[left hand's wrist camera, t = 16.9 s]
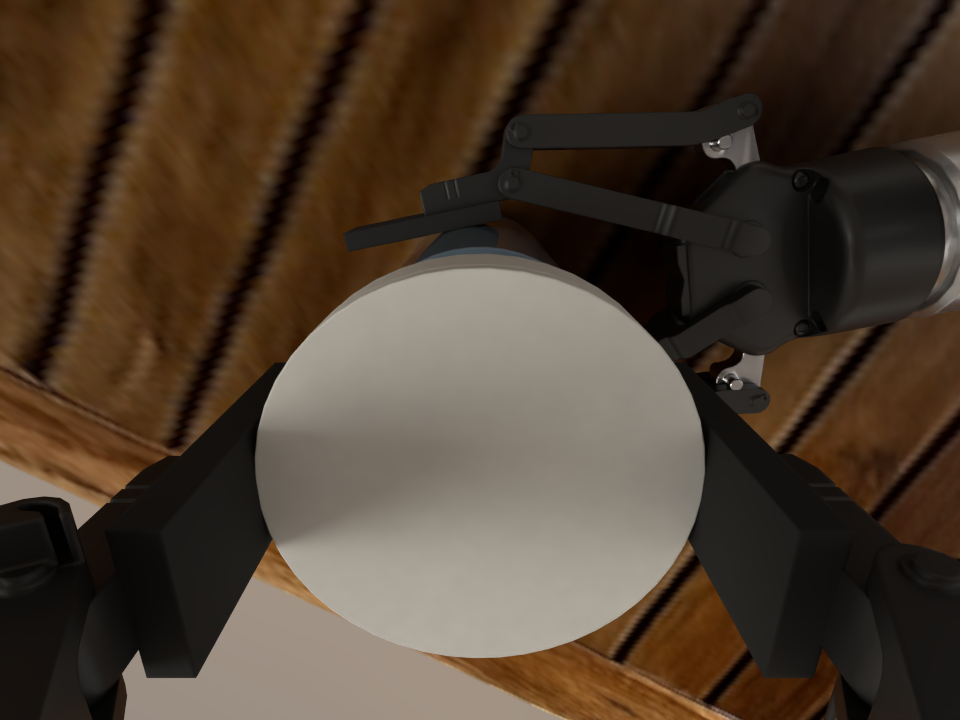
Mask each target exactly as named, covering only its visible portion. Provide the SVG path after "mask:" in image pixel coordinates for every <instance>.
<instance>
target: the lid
mask: <svg viewBox="0 0 960 720" xmlns="http://www.w3.org/2000/svg"><path fill="white" fill-rule="evenodd" d="M255 475H256V482H257V488H258V494H259V500H260V506H261V510H262V513H263V516H264V519H265V522H266V524H267V527H268V530H269V533H270V535H271V536H272V538H273V540H274V542H275V544H276V546H277V548H278V550H279V552H280V554H281V555H282V557H283V558H284V559H285V561H286V562H287V564H288V565H289V567H290V568H291V569H292V571H293V572H294V574H295V575H296V576H297V577H298V578H299V579H300V580H301V581H302V583H303V584H304V585H305V586H306V587H307V588H308V589H309V590H310V591H311V592H312V593H313V594H314V595H315V596H316V597H317V598H318V599H320V600H321V601H322V602H323V603H324V604H325V605H327V606H328V607H329V608H330V609H331V610H333V611H334V612H336V613H337V614H339V615H340V616H342V617H343V618H345V619H346V620H348V621H349V622H351V623H352V624H354V625H356V626H358V627H360V628H362V629H364V630H365V631H367V632H369V633H371V634H373V635H375V636H378V637H380V638H383V639H385V640H388V641H390V642H393V643H395V644H398V645H401V646H405V647H408V648H412V649H415V650H419V651H423V652H428V653H434V654H439V655H445V656H455V657H468V658H491V657H505V656H514V655H522V654H527V653H532V652H536V651H541V650H545V649H549V648H553V647H556V646H559V645H562V644H565V643H568V642H571V641H573V640H576V639H578V638H580V637H582V636H584V635H587V634H589V633H591V632H593V631H596V630H597V629H599V628H601V627H602V626H604V625H606V624H608V623H609V622H611V621H613V620H614V619H616V618H618V617H619V616H620V615H622V614H623V613H624V612H626V611H627V610H628V609H630V608H631V607H632V606H634V605H635V604H636V603H638V602H639V601H640V600H641V599H642V598H643V597H644V596H645V595H646V594H647V593H648V592H649V591H650V590H651V589H652V588H653V587H655V586H656V584H657V583H658V582H659V581H660V580H661V578H662V577H663V576H664V575H665V573H666V572H667V571H668V570H669V569H670V567H671V566H672V565H673V563H674V561H675V560H676V558H677V557H678V555H679V553H680V552H681V550H682V549H683V547H684V545H685V543H686V541H687V539H688V537H689V534H690V532H691V530H692V528H693V525H694V523H695V520H696V517H697V513H698V510H699V506H700V502H701V497H702V491H703V484H704V478H705V444H704V439H703V433H702V427H701V422H700V418H699V415H698V412H697V409H696V406H695V403H694V400H693V397H692V394H691V392H690V391H689V389H688V387H687V385H686V383H685V381H684V379H683V377H682V375H681V373H680V372H679V370H678V368H677V367H676V366H675V364H674V363H673V361H672V360H671V359H670V357H669V356H668V355H667V353H666V352H665V351H664V349H663V348H662V347H661V345H660V344H659V343H658V342H657V341H656V340H655V339H654V338H653V337H652V336H651V335H650V334H649V333H648V332H647V331H646V330H645V329H644V328H643V327H642V326H641V325H640V324H639V323H638V322H637V321H636V320H635V319H634V318H633V317H632V316H631V315H630V314H629V313H628V312H627V311H626V310H625V309H624V308H623V307H622V306H621V305H620V304H619V303H618V302H616V301H615V300H614V299H612V298H611V297H610V296H608V295H607V294H606V293H604V292H603V291H602V290H600V289H599V288H598V287H596V286H594V285H592V284H590V283H588V282H587V281H585V280H583V279H581V278H579V277H578V276H576V275H574V274H572V273H569V272H567V271H564V270H561V269H559V268H556V267H554V266H551V265H549V264H546V263H542V262H537V261H533V260H529V259H525V258H521V257H515V256H505V255H496V254H463V255H453V256H447V257H441V258H435V259H429V260H426V261H422V262H419V263H416V264H413V265H409V266H406V267H403V268H400V269H398V270H396V271H394V272H391V273H389V274H387V275H385V276H383V277H381V278H378V279H376V280H374V281H373V282H371V283H370V284H368V285H367V286H365V287H363V288H362V289H360V290H359V291H357V292H356V293H354V294H353V295H351V296H350V297H349V298H348V299H347V300H345V301H344V302H343V303H342V304H341V305H340V306H338V307H337V308H336V309H335V310H334V311H333V312H331V313H330V314H329V315H328V316H327V317H326V318H325V320H324V321H323V322H322V323H321V324H320V325H319V326H318V327H317V328H316V329H315V330H314V331H313V332H312V333H311V334H310V335H309V336H308V337H307V338H306V339H305V341H304V342H303V343H302V344H301V345H300V346H299V347H298V349H297V350H296V351H295V352H294V353H293V354H292V355H291V357H290V358H289V360H288V361H287V363H286V365H285V366H284V368H283V369H282V371H281V372H280V374H279V375H278V377H277V379H276V380H275V382H274V385H273V387H272V389H271V391H270V394H269V396H268V398H267V401H266V403H265V405H264V409H263V412H262V416H261V420H260V424H259V427H258V431H257V440H256V449H255Z"/></svg>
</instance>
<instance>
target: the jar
mask: <svg viewBox="0 0 960 720" xmlns="http://www.w3.org/2000/svg"><path fill="white" fill-rule="evenodd" d="M502 219H503V220H499V221H495V222H490V223H485V224H480V225H475V226H470V227H466V228H460V229H456V230H451V231H446V232H442V233H437V234H432V235H428V236H427V237H426V238H425V239H424V240H423V241H422V242H421V244H420V245H419V246H418V247H417V248H416V250H415V251H414V252H413V253H412V255H411V256H410V257H409V258H408V259H407V261H406V262H405V263H404V264H403V266H402V267H401V268H403V267H406V266H409V265H413V264H416V263H419V262H422V261H426V260H429V259H435V258H441V257H447V256H453V255H463V254H496V255H505V256H515V257H521V258H525V259H529V260H533V261H537V262H542V263H546V264H549V265H551V266H554V267H556V268H559V266H558V265H557V264H556V263H555V261H554V260H553V259H552V258H551V257H550V255H549V254H548V253H547V252H546V251H545V249H544V248H543V247H542V246H541V244H540V243H539V242H538V241H537V240H536V238H535V237H534V236H533V235H532V234H531V233H530V232H529V231H528V230H526V229H525V228H524V227H522V226H521V225H520V224H518V223H516V222H514V221H513V220H511V219H508V218H506V217H503V216H502ZM559 269H560V268H559Z"/></svg>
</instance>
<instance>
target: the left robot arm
mask: <svg viewBox="0 0 960 720" xmlns="http://www.w3.org/2000/svg"><path fill="white" fill-rule="evenodd" d="M674 364H675V366H676V367H677V368H678V370H679V372H680V373H681V375H682V377H683V379H684V381H685V383H686V385H687V387H688V389H689V391H690V392H691V394H692V397H693V400H694V403H695V406H696V409H697V412H698V415H699V418H700V422H701V427H702V433H703V439H704V444H705V478H704V484H703V491H702V497H701V502H700V506H699V510H698V513H697V517H696V520H695V523H694V525H693V528H692V530H691V532H690V534H689V537H688V540H689V542H690V544H691V546H692V547H693V549H694V551H695V553H696V555H697V556H698V558H699V560H700V562H701V564H702V566H703V567H704V569H705V571H706V573H707V575H708V576H709V578H710V580H711V582H712V584H713V586H714V587H715V589H716V591H717V593H718V595H719V596H720V598H721V600H722V602H723V604H724V606H725V607H726V609H727V611H728V613H729V615H730V616H731V618H732V620H733V622H734V624H735V626H736V627H737V629H738V631H739V633H740V635H741V636H742V638H743V640H744V642H745V644H746V646H747V647H748V649H749V651H750V653H751V655H752V656H753V658H754V660H755V662H756V664H757V666H758V667H759V669H760V671H761V673H762V675H763V676H764V678H814V675H815V671H816V668H817V664H818V661H819V657H820V654H821V650H822V648H823V649H824V651H825V652H826V653H827V655H828V656H829V658H830V659H831V661H832V662H833V663H834V665H835V666H836V668H837V669H838V670H839V673H838V676H837V679H836V682H835V685H834V689H833V692H832V695H831V698H830V702H829V705H828V708H827V711H826V715H825V718H824V720H960V561H958V560H956V559H954V558H952V557H950V556H948V555H946V554H943V553H940V552H937V551H934V550H931V549H928V548H925V547H922V546H916V545H909V544H902V543H900V542H899V541H898V540H897V539H895V538H894V537H893V536H892V535H891V534H890V533H889V532H888V531H887V530H886V529H884V528H883V527H882V526H881V525H880V524H879V523H878V522H877V521H876V520H875V519H873V518H872V517H871V516H870V515H869V514H868V513H867V512H866V511H865V510H864V509H862V508H861V507H860V506H859V505H858V504H857V503H856V502H855V501H851V500H850V497H849V496H848V495H847V494H846V493H845V492H844V491H843V490H841V489H840V488H839V487H836V486H835V485H836V484H835V483H834V482H833V481H832V480H830V479H829V478H828V477H827V476H826V475H825V474H824V473H823V472H822V471H821V470H819V469H818V468H817V467H815V466H813V465H811V464H809V463H808V462H806V461H804V460H802V459H800V458H798V457H797V456H795V455H793V454H777V453H776V452H775V451H774V450H773V449H772V448H771V447H770V446H769V445H768V444H767V443H766V442H765V441H764V440H763V439H762V438H761V437H760V436H759V435H758V434H757V433H756V432H755V431H754V430H753V429H752V428H751V427H750V426H749V425H748V424H747V423H746V422H745V421H744V420H743V419H742V418H741V417H740V416H739V415H738V414H737V413H736V412H735V411H734V410H733V409H732V408H731V407H730V406H729V405H728V404H726V403H725V402H724V401H723V400H722V399H721V398H720V397H719V396H718V395H717V394H716V393H715V392H714V391H713V390H712V389H711V388H710V387H709V386H708V385H707V384H706V383H705V382H704V381H703V380H702V379H701V378H700V377H699V376H698V375H697V374H696V373H695V372H694V371H693V370H692V369H691V368H690V367H689V366H688V365H687V364H686V363H674ZM285 365H286V363H275V364H274V365H273V366H272V367H271V368H269V369H268V370H267V371H266V372H265V373H264V374H263V375H262V376H261V377H260V378H259V379H258V380H257V381H256V382H255V383H254V384H253V385H252V386H251V387H250V388H249V389H248V390H247V391H246V392H245V393H244V394H243V395H242V396H241V397H240V398H239V399H238V400H237V401H236V402H235V403H234V404H233V405H232V406H231V407H230V408H229V409H228V410H227V411H226V412H225V413H224V414H223V415H222V416H221V417H220V418H219V419H218V420H217V421H216V422H215V423H214V424H213V425H211V426H210V427H209V428H208V429H207V430H206V431H205V432H204V433H203V434H202V435H201V436H200V437H199V438H198V439H197V440H196V441H195V442H194V443H193V444H192V445H191V446H190V447H189V448H188V449H187V450H186V451H185V452H184V453H183V454H182V455H181V456H168V457H166V458H164V459H162V460H160V461H158V462H157V463H155V464H153V465H151V466H149V467H147V468H146V469H144V470H142V471H141V472H140V473H139V474H138V475H137V476H136V477H135V478H134V479H133V480H131V481H130V482H129V483H128V484H127V485H126V486H125V489H122V490H121V491H119V492H118V493H117V494H116V495H115V496H114V497H113V498H112V499H111V502H110V503H106V504H105V505H104V506H103V507H102V508H101V509H100V510H99V511H98V512H96V513H95V514H94V515H93V516H92V517H91V518H90V519H89V520H88V521H87V522H86V523H84V524H83V525H82V526H81V527H80V528H79V529H78V530H77V527H76V524H75V521H74V517H73V514H72V511H71V508H70V504H69V503H68V502H66V501H64V500H63V499H61V498H55V497H36V498H28V499H22V500H18V501H15V502H11V503H8V504H4V505H0V720H124V714H125V707H126V699H127V693H126V687H125V682H124V679H123V676H122V673H123V671H124V670H125V668H126V667H127V665H128V664H129V663H130V661H131V660H132V658H133V657H134V655H135V654H136V653H137V651H138V650H139V652H140V656H141V659H142V663H143V666H144V670H145V673H146V677H147V678H196V677H197V675H198V673H199V672H200V670H201V668H202V666H203V664H204V663H205V661H206V659H207V657H208V655H209V653H210V652H211V650H212V648H213V646H214V644H215V643H216V641H217V639H218V637H219V635H220V633H221V632H222V630H223V628H224V626H225V624H226V623H227V621H228V619H229V617H230V615H231V613H232V612H233V610H234V608H235V606H236V604H237V602H238V601H239V599H240V597H241V595H242V593H243V592H244V590H245V588H246V586H247V584H248V583H249V581H250V579H251V577H252V575H253V573H254V572H255V570H256V568H257V566H258V564H259V563H260V561H261V559H262V557H263V555H264V553H265V552H266V550H267V548H268V546H269V544H270V543H271V541H272V539H273V538H272V536H271V535H270V533H269V530H268V527H267V524H266V522H265V519H264V516H263V513H262V510H261V506H260V500H259V494H258V488H257V482H256V475H255V449H256V440H257V431H258V427H259V424H260V420H261V416H262V412H263V409H264V405H265V403H266V401H267V398H268V396H269V394H270V391H271V389H272V387H273V385H274V382H275V380H276V379H277V377H278V375H279V374H280V372H281V371H282V369H283V368H284V366H285Z"/></svg>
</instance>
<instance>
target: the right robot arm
mask: <svg viewBox="0 0 960 720" xmlns="http://www.w3.org/2000/svg"><path fill="white" fill-rule="evenodd" d="M762 111H763V104H762V102H761V99H760V98H759V97H758V96H757V95H755V94H751V93H748V94H743V95H740V96H736V97H733V98H729V99H726V100H722V101H719V102H716V103H714V104H711V105H709V106H706V107H704V108H701V109H699V110H696V111H694V112H653V113H600V114H547V115H519V116H515V117H514V118H513V119H511V120H510V122H509V123H508V125H507V126H506V128H505V130H504V135H503V143H502V150H501V156H500V160H499V162H498V164H497V165H496V166H495V168H494V169H492V170H491V171H488V172H485V173H481V174H476V175H471V176H467V177H462V178H457V179H453V180H448V181H443V182H439V183H434V184H430V185H429V186H427V187H426V188H424V189H423V190H422V191H420V197H421V201H422V206H423V210H424V213H422V214H418V215H413V216H408V217H403V218H399V219H394V220H389V221H384V222H380V223H375V224H370V225H365V226H361V227H357V228H354V229H352V230H350V231H348V232H346V233H343V236H344V239H345V243H346V246H347V250H348V252H350V251H355V250H359V249H364V248H369V247H374V246H379V245H384V244H388V243H393V242H398V241H403V240H408V239H413V238H417V237H422V236H427V235H432V234H437V233H442V232H446V231H451V230H456V229H460V228H466V227H470V226H475V225H480V224H485V223H490V222H495V221H499V220H503V219H502V214H501V208H500V203H499V201H502V200H507V199H514V200H518V201H522V202H527V203H531V204H535V205H539V206H543V207H548V208H552V209H556V210H560V211H565V212H569V213H573V214H577V215H582V216H586V217H590V218H594V219H598V220H603V221H607V222H611V223H615V224H620V225H624V226H628V227H632V228H636V229H641V230H645V231H649V232H653V233H657V234H661V235H665V236H666V239H665V240H661V242H662V253H663V258H664V261H665V264H666V266H667V269H668V272H669V275H668V281H667V286H666V297H667V307H665V308H664V309H662V310H661V311H659V312H658V313H656V314H655V315H654V316H652V317H651V319H650V321H649V322H648V324H646V325H645V326H643V328H644V329H645V330H646V331H647V332H648V333H649V334H650V335H651V336H652V337H653V338H654V339H655V340H656V341H657V342H658V343H659V344H660V345H661V347H662V348H663V349H664V351H665V352H666V353H667V355H668V356H669V357H670V359H671V360H672V361H675V360H677V359H684V358H688V357H691V356H693V355H695V354H696V353H698V352H699V351H701V350H703V349H704V348H706V347H707V346H709V345H711V344H712V343H714V342H716V341H719V342H721V343H723V344H725V345H727V346H729V347H732V348H734V352H733V354H732V356H731V357H730V358H728V359H727V360H724V361H721V362H715V363H713V364H712V365H711V366H710V372H700V373H696V374H697V375H698V376H699V377H700V378H701V379H702V380H703V381H704V382H705V383H706V384H707V385H708V386H709V387H710V388H711V389H712V390H713V391H714V392H715V393H716V394H717V395H718V396H719V397H720V398H721V399H722V400H723V401H724V402H725V403H726V404H728V405H729V406H730V407H731V408H732V409H733V410H734V411H735V412H736V413H737V414H745V413H759V412H761V411H763V410H765V409H766V408H767V406H768V405H769V402H770V396H769V394H768V392H766V391H765V390H764V389H762V388H761V387H760V383H761V377H762V370H763V363H764V356H765V354H768V353H770V352H772V351H774V350H775V349H777V348H778V347H779V346H781V345H783V344H784V343H786V342H788V341H790V340H793V339H796V338H802V337H812V336H821V335H827V334H833V333H838V332H843V331H849V330H854V329H859V328H865V327H870V326H875V325H881V324H886V323H891V322H896V321H899V320H902V319H904V318H906V317H910V318H921V317H926V316H931V315H936V314H941V313H946V312H951V311H956V310H960V130H958V131H953V132H948V133H943V134H938V135H933V136H928V137H923V138H918V139H913V140H908V141H903V142H899V143H895V144H892V145H890V146H888V147H886V148H884V147H874V148H867V149H863V150H858V151H853V152H848V153H843V154H838V155H834V156H829V157H824V158H819V159H814V160H810V161H805V162H800V163H795V164H790V165H785V166H778V165H774V164H772V163H769V162H766V161H760V159H759V154H758V149H757V144H756V139H755V134H754V129H753V124H755V123H756V122H757V121H758V120H759V118H760V117H761V114H762ZM688 145H694V148H695V151H696V153H697V154H698V156H700V157H701V158H704V159H714V158H716V159H719V160H721V161H722V162H723V163H724V164H725V166H726V170H725V171H724V172H723V173H722V174H721V175H720V176H719V177H718V178H717V179H716V180H715V181H714V182H713V183H712V184H711V185H710V186H709V187H708V188H707V189H706V190H705V191H704V192H703V193H702V194H701V195H700V196H699V197H698V198H697V199H696V200H695V201H694V202H693V203H692V204H691V205H690V206H689V207H688V208H683V207H679V206H675V205H670V204H666V203H661V202H657V201H653V200H649V199H645V198H641V197H636V196H632V195H628V194H624V193H620V192H616V191H612V190H607V189H603V188H599V187H595V186H591V185H587V184H583V183H578V182H574V181H570V180H566V179H562V178H558V177H554V176H549V175H545V174H541V173H537V172H533V171H529V170H530V164H531V158H532V152H533V150H582V149H636V148H670V147H680V146H688Z"/></svg>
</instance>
